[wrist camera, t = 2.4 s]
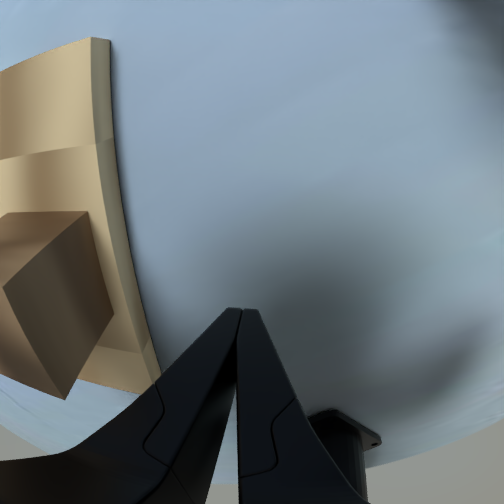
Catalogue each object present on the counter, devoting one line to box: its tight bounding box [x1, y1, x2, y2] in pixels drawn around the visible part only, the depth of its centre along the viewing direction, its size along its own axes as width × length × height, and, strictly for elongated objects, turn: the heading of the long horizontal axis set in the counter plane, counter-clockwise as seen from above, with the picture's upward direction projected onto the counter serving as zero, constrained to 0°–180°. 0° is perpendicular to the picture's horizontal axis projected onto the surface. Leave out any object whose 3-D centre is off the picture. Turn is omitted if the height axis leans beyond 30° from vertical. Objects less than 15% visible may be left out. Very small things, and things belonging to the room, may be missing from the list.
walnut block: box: [0, 211, 114, 400], centre depth 9 cm, size 4×4×4 cm
